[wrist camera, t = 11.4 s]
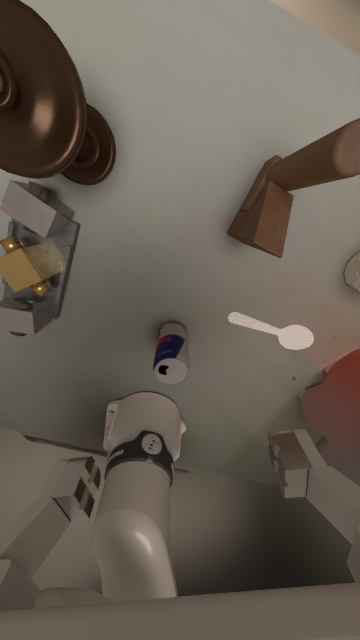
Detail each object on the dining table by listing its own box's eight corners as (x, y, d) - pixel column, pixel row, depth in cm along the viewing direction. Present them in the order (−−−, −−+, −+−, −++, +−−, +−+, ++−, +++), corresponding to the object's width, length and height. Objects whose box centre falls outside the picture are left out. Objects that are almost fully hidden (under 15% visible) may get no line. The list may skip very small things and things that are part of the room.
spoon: (234, 302, 41) (234, 303, 40) (319, 330, 43) (320, 332, 43) (222, 326, 43) (222, 328, 42) (303, 353, 45) (305, 354, 45)
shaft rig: (56, 330, 43) (39, 346, 37) (6, 313, 41) (-19, 327, 36) (85, 202, 34) (68, 200, 29) (22, 174, 32) (-7, 166, 27)
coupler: (65, 284, 38) (50, 292, 33) (40, 294, 38) (23, 304, 34) (32, 231, 34) (11, 233, 30) (6, 243, 35) (-19, 247, 30)
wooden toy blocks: (225, 233, 36) (266, 247, 19) (266, 159, 32) (361, 99, 15) (245, 244, 36) (300, 267, 20) (287, 174, 32) (399, 130, 16)
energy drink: (162, 317, 42) (157, 353, 31) (190, 324, 42) (194, 361, 31) (156, 341, 44) (148, 383, 33) (182, 347, 44) (184, 390, 33)
